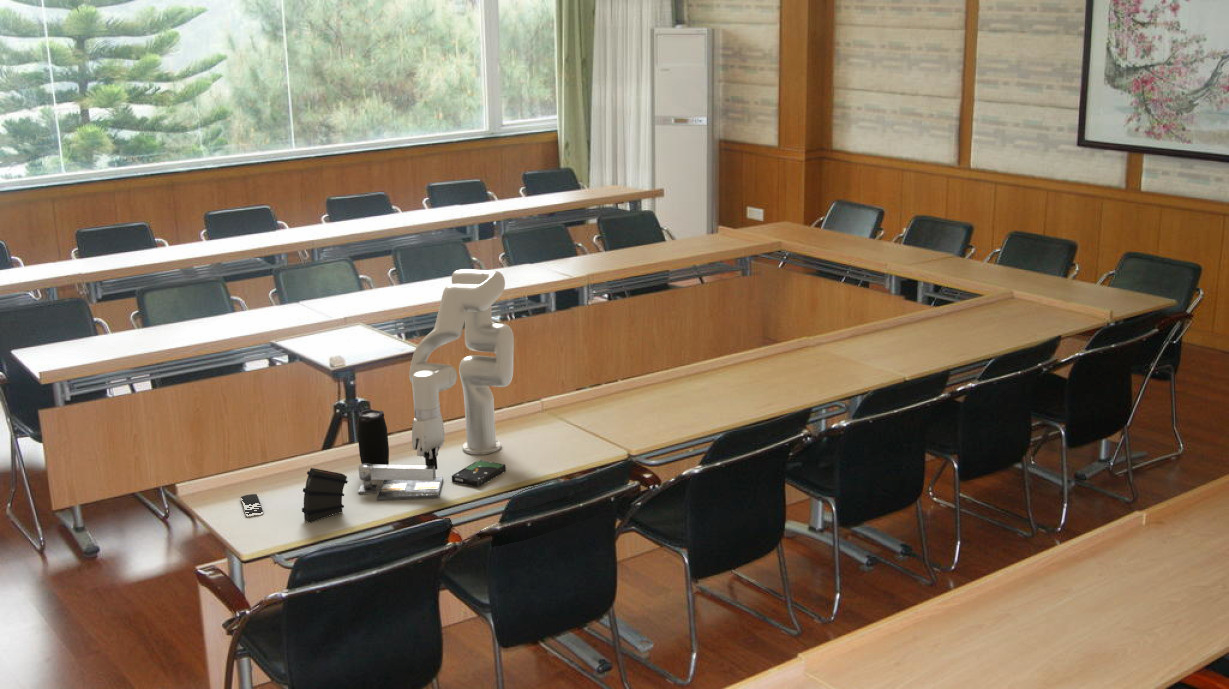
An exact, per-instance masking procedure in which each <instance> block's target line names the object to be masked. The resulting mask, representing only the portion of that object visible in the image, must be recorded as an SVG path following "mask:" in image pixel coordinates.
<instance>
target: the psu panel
mask: <svg viewBox="0 0 1229 689" xmlns="http://www.w3.org/2000/svg"><path fill="white" fill-rule="evenodd" d="M443 482H444V477H443V476H436V478H435V480H434V481H415V480H383V481H382V484H381V486H380V490H379V491H378V494H377V497H376V500H377V501H402V500H406V501H407V500H427V499H428V500H429V499H431V500H432V499H439V498H440V494H441V489H442V486H443ZM439 493H440V494H439Z"/></svg>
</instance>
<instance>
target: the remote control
mask: <svg viewBox="0 0 1229 689" xmlns="http://www.w3.org/2000/svg"><path fill="white" fill-rule="evenodd" d="M257 495H258V494H257V493H251V494H245V495H242V496H240V499H241V498H242V499H243V500H242V501H243V502H244V503H245V505H249V504H251V505H253V504H255V503H259V504H261V501H260V499H259V496H257ZM257 506H261V507H254V508H259V509H252V510H245V512H249V513H246V514H248V515H249V514H252V513H261V512H263V513H264V510H263V508H262V505H257ZM249 507H252V506H249ZM247 509H250V508H247ZM254 510H257V511H254ZM245 512H244V513H245Z"/></svg>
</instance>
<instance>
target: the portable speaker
mask: <svg viewBox="0 0 1229 689" xmlns="http://www.w3.org/2000/svg"><path fill="white" fill-rule="evenodd" d="M357 441H358V451H359V459H360V463H361V464H364V463H371V464H380V465H390V463H389V461H390V446H389V434H388V427H387V422H386V420H385V414H384V411H383V410H375V409H371V408H370V409H363V410H362V411H360V412H359V415H358V417H357ZM361 464H360V465H361Z"/></svg>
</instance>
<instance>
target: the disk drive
mask: <svg viewBox="0 0 1229 689" xmlns="http://www.w3.org/2000/svg"><path fill="white" fill-rule="evenodd" d="M506 469H507V468H506V464H504V463H498V462H495V461H492V462H491V461H485V460H482V459H480V460H477V461H474V462H473V463H471V464H470V465H468V466H466V467H464V468H462V469H461V470H458V471H457V472H456V473H453V474H452V475H451V482H452V483H454V482H455V483H456V484H460V485H465V486H468V487H473V488H478V489H479V488H480V487H482V486H484V485H485V484H487V483H489V482H490V481H492V480H494V479H495V478H497V477H499V476H501V475H502V474H503V472H504V473H506V472H507V470H506ZM500 474H501V475H500ZM498 475H499V476H498ZM496 476H497V477H496ZM493 478H494V479H493ZM491 479H492V480H491ZM488 481H489V482H488Z"/></svg>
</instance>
